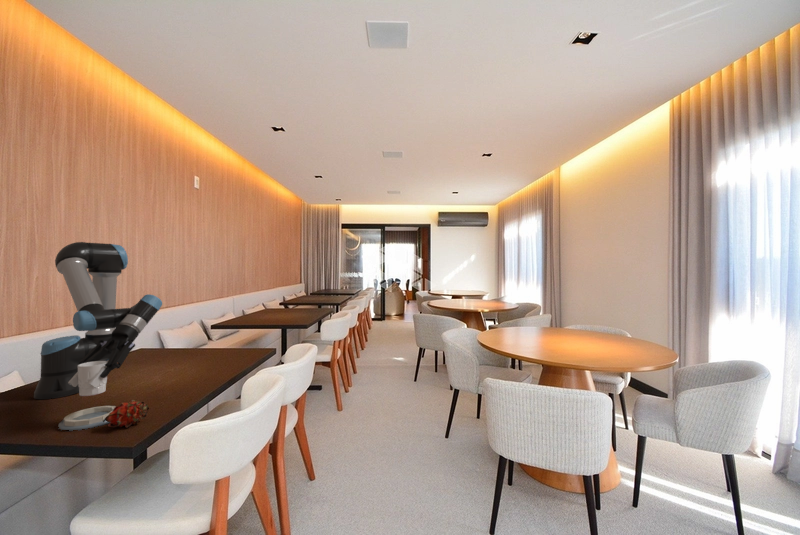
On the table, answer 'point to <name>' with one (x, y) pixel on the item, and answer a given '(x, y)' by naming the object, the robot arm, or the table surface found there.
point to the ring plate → (86, 418)
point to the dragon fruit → (127, 414)
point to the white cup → (90, 378)
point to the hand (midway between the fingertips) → (82, 385)
